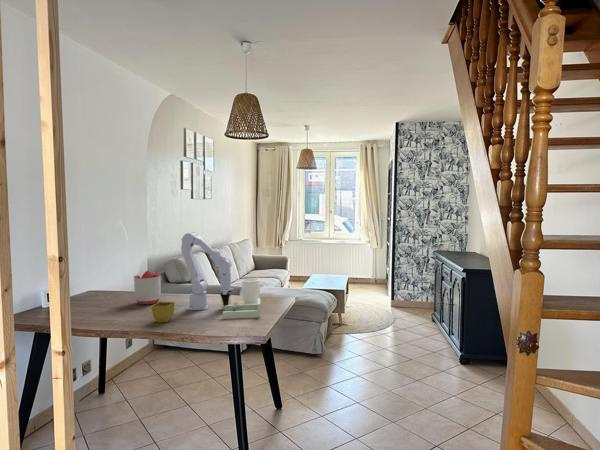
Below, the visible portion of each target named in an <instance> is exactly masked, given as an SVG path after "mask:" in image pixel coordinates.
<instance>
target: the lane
mask: <svg viewBox="0 0 600 450" xmlns="http://www.w3.org/2000/svg"><path fill="white" fill-rule="evenodd" d="M233 306H234V304H231V305H225V310H223V311H222V320H227V319H228V320H229V319H231V320H233V319H252V318H253V319H254V318H261V317H262V316H261V315H262V314H261V312H262V311H261V309H262V308H261V297H259V298H258V301H257V304H246V305H244V304H237V311H233Z"/></svg>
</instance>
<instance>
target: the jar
mask: <svg viewBox="0 0 600 450" xmlns="http://www.w3.org/2000/svg"><path fill="white" fill-rule="evenodd" d="M260 281H261V279H259V278H244V279H242V280H241V282H242V283H241V294H242V299H243V302H244V303H243V305H246V304H257V301H258V298H260V293H261V287H260V286H261V285H260Z"/></svg>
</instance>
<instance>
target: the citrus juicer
mask: <svg viewBox="0 0 600 450" xmlns="http://www.w3.org/2000/svg"><path fill="white" fill-rule="evenodd" d="M161 276H162V274H160V273H151V271H148V270H146V271H145V272H144V273H143V274H142V275H139V274H137V275H133V283H134V296H135V299H136V302H137V303H139V304H138V305H143V304H147V305H154V304H156V302H157V303H158V302H160V301H159V300H160V296H161V291H162V288H161V286H162V283H161V281H162V280H161Z"/></svg>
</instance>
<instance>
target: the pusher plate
mask: <svg viewBox="0 0 600 450" xmlns="http://www.w3.org/2000/svg"><path fill="white" fill-rule="evenodd" d="M233 305H234V306H233V311H237V305H238V302H234V303H233Z"/></svg>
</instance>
